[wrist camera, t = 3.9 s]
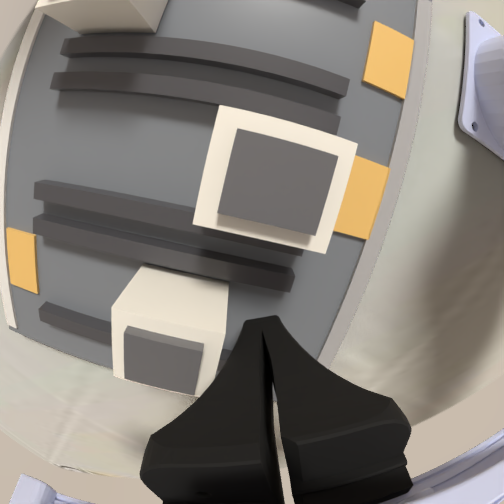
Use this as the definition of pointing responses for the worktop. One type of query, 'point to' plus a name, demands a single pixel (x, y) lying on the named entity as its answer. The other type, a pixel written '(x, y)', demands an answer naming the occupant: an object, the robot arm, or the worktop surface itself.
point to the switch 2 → (169, 330)
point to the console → (197, 160)
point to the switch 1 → (105, 14)
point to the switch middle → (273, 179)
